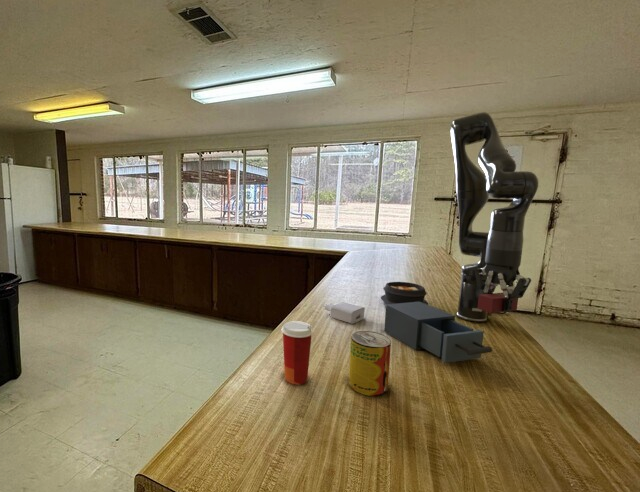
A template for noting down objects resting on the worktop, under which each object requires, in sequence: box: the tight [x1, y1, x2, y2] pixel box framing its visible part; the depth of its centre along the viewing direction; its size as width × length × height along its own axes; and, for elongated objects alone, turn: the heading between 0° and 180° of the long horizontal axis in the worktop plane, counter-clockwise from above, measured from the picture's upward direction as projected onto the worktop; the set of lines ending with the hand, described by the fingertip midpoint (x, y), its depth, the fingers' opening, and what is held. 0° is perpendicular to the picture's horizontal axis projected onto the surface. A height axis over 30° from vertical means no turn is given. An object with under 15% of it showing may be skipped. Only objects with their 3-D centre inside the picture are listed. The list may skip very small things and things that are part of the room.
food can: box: [348, 330, 392, 397], centre depth 77 cm, size 9×9×12 cm
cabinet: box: [383, 302, 456, 351], centre depth 104 cm, size 15×14×10 cm
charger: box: [322, 301, 366, 325], centre depth 124 cm, size 5×9×15 cm
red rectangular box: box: [478, 292, 519, 314], centre depth 88 cm, size 9×4×4 cm, turn 105°
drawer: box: [418, 319, 493, 364], centre depth 92 cm, size 18×12×8 cm
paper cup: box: [280, 320, 314, 386], centre depth 80 cm, size 8×8×14 cm
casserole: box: [380, 281, 429, 306], centre depth 138 cm, size 25×19×8 cm
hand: (496, 308), depth 88 cm, fingers closed on red rectangular box, 4 cm apart
